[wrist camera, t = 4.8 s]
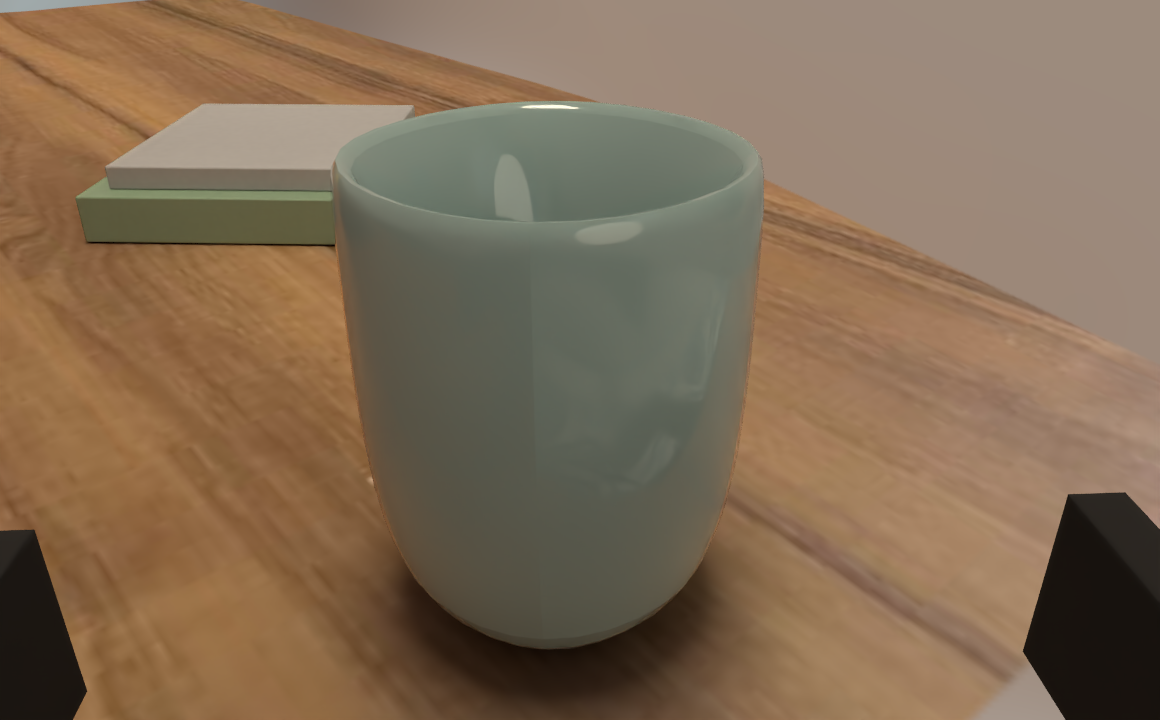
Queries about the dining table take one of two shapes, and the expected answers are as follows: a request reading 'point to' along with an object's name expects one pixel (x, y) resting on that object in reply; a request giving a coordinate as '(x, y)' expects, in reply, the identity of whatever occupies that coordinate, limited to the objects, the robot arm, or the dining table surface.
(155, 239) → the scale
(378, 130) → the cup
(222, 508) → the dining table surface
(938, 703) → the dining table surface
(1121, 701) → the robot arm
